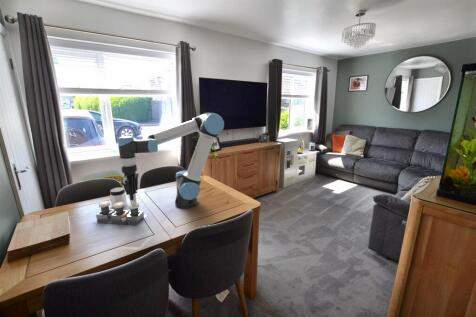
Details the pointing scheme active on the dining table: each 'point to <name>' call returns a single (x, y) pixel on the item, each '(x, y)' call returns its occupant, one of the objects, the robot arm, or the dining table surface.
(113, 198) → the jar
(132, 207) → the knob
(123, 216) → the trim pot
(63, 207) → the dining table surface
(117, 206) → the knob mid
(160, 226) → the dining table surface
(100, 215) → the console
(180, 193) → the robot arm
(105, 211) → the knob
